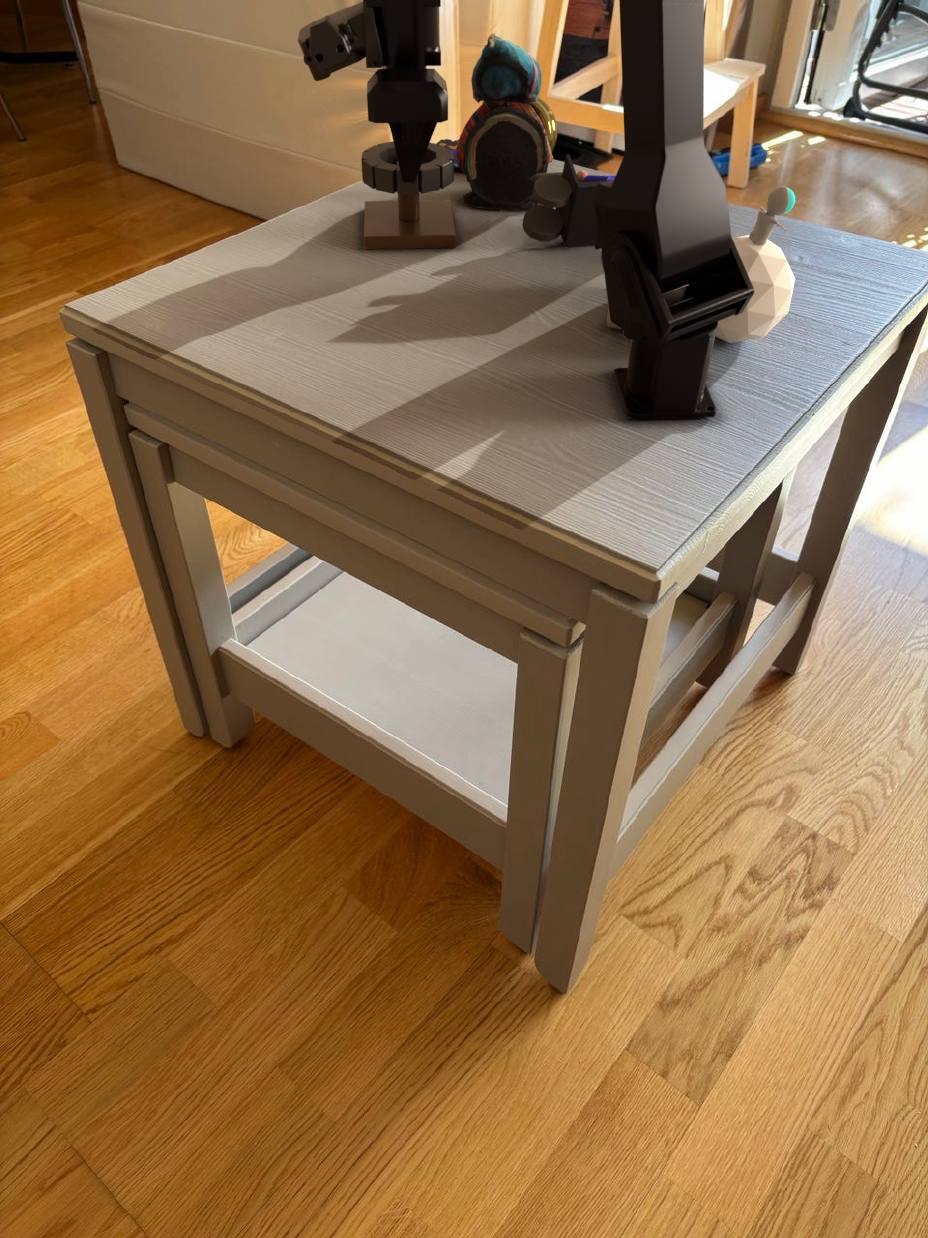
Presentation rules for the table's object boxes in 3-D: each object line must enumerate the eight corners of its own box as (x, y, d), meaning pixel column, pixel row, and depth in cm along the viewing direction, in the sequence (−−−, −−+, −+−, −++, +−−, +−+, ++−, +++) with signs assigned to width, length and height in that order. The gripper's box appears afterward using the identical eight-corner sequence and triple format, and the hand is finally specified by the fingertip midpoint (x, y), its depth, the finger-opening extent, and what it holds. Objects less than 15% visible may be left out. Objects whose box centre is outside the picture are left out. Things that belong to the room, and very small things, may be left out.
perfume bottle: (777, 370, 77) (863, 223, 69) (690, 352, 74) (770, 197, 66) (738, 322, 82) (813, 181, 74) (655, 303, 79) (724, 155, 71)
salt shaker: (515, 190, 101) (531, 181, 110) (566, 133, 97) (579, 128, 106) (465, 136, 100) (486, 131, 108) (515, 76, 96) (532, 75, 104)
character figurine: (515, 234, 93) (663, 225, 95) (532, 260, 87) (689, 250, 89) (518, 146, 88) (675, 139, 90) (537, 168, 82) (703, 160, 84)
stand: (456, 247, 90) (456, 178, 85) (364, 249, 89) (360, 180, 85) (451, 211, 96) (451, 145, 91) (365, 213, 95) (361, 146, 91)
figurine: (555, 190, 100) (568, 24, 90) (544, 216, 95) (556, 44, 85) (462, 181, 102) (464, 17, 91) (446, 206, 97) (446, 36, 86)
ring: (454, 194, 86) (454, 170, 85) (360, 194, 86) (359, 170, 85) (452, 162, 92) (452, 140, 91) (365, 162, 92) (364, 140, 91)
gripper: (304, -54, 81) (322, 142, 92) (290, -3, 68) (312, 220, 79) (436, -54, 82) (438, 141, 93) (448, -3, 68) (448, 218, 79)
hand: (408, 177), depth 86 cm, fingers closed on ring, 2 cm apart
